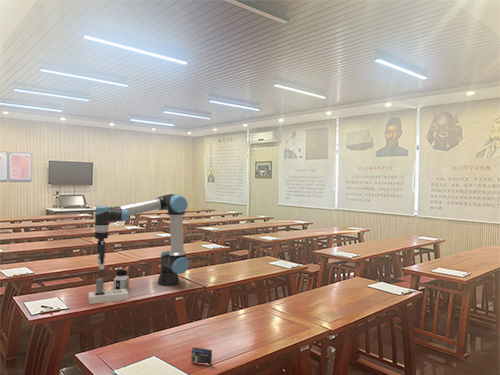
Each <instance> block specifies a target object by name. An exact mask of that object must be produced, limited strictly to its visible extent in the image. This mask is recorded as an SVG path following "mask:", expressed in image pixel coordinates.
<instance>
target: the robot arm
mask: <svg viewBox="0 0 500 375" xmlns="http://www.w3.org/2000/svg"><path fill="white" fill-rule="evenodd" d="M187 208H188V200H187V199H186V198H185V196H183V195H181V194H174V193H169V194H164V195H161V196H158V197H157V196H156V197H155V198H153V199H148V200H143V201H139V202H134V203H128V204H124V205H123V204H122V205H119V206H118V205H117V206H114V207H113V206H105V205H99V206H96V207H95V213H94V220H95V221H94V226H93V228H94V231H95V232H94V238H95V239H96V240H97V243H96V244H97V249H96V251H97V258H96V259H97V260H96V261H97V262H96V263H97V265H98V269H99V270H105V258H106V254H105V252H106V249H105V247H106V246H105V244H106V241H105V239H108V238H109V222H110V223H111V222H127V221H129V218H130V217H129V216H134V215H138V214H142V213H148V212H152V211H167V216H169V220H170V224H169V226H170V227H169V229H170V250H166V251H162V252H161V254H160V274H159V276H158V278H157V284H158V285H159V286H165V287H169V286H170V285H172V286H176V285H178V284H180V278H179V275H181V274H184V273H185V272H186V271H187V270H188V268H189V266H190V265H189V264H190V263H189V260H188V259H187V252H186V251H184V250H185V249H184V216H185V215H186V211H187ZM175 284H176V285H175Z"/></svg>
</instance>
